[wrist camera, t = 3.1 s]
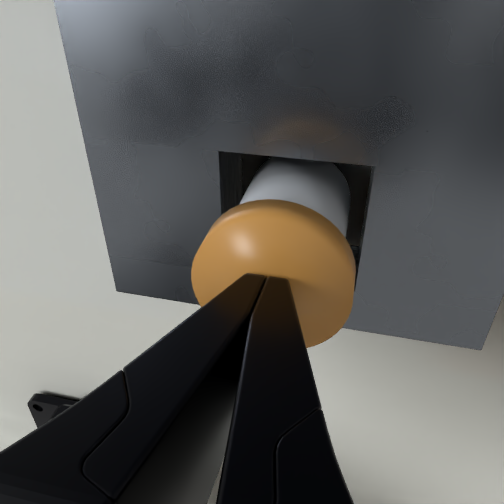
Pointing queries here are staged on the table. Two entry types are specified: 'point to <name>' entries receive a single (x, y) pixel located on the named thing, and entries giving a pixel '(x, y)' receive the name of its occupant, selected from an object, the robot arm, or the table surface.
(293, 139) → the housing
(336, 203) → the plunger
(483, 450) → the table surface
